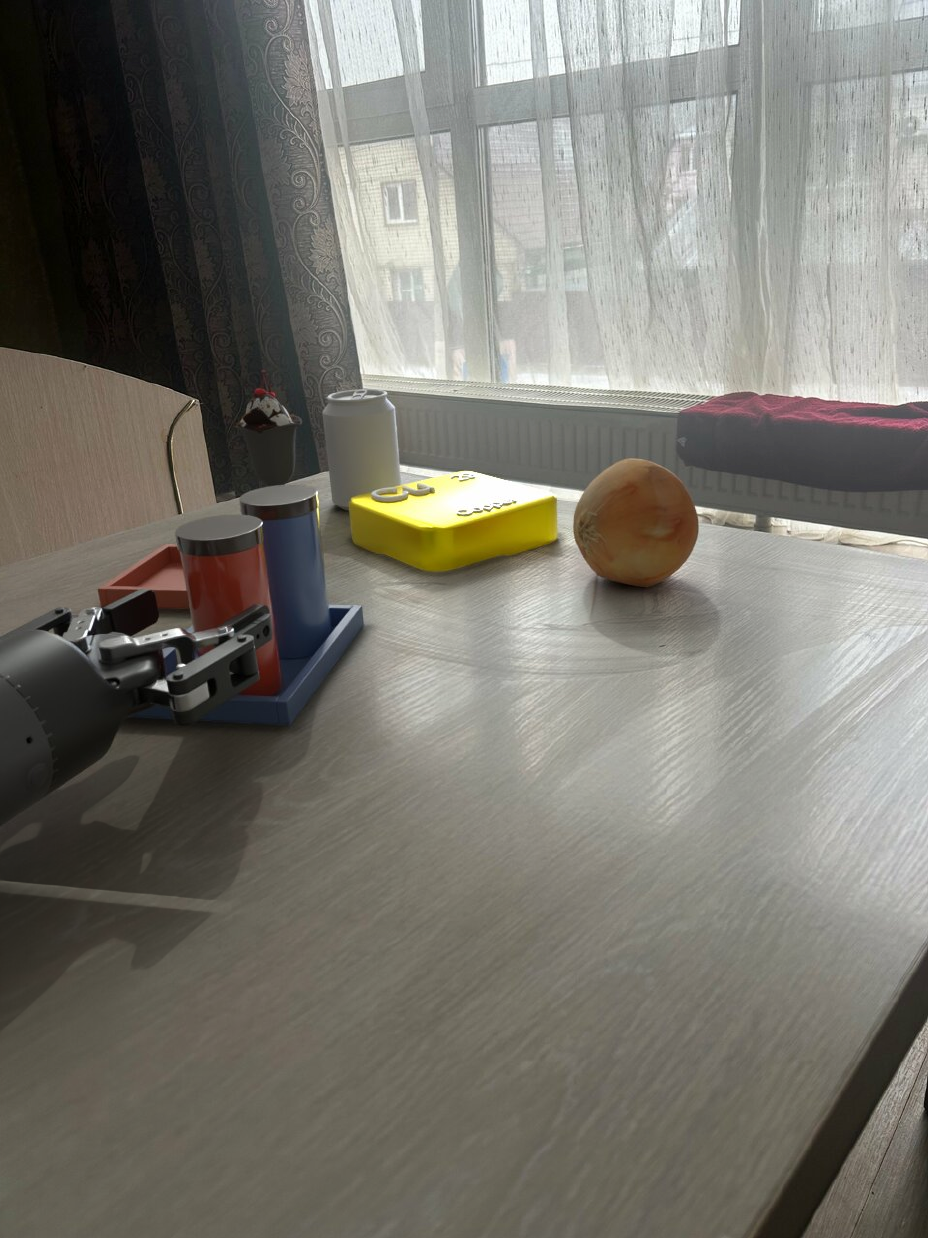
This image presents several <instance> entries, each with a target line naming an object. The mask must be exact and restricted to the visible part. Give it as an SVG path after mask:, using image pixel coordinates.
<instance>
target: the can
mask: <svg viewBox="0 0 928 1238" xmlns="http://www.w3.org/2000/svg"><path fill="white" fill-rule="evenodd" d="M388 395H389V393H388V392H387V391H386V390H383V389H368V388H367V389H364V388H363V389H349V390H342V391H337V392H334V393H330V394H329V395H328V396H326V399H327V401H328V403H327V404H326V406H325V407H324V409H323V410H322V412H321V413H322V422H323V430H324V440H325V448H326V458H327V466H328V475H329V485H330V494H331V501H332V503H333V504H335V505H336V506H337V507H338V508H340V509H342V510H344V511H348V512H349V504H348V503H349V501H350V499H351V498H352V497H355V496H358V495H362V494H367V493H371V492H373V491H375V490H378V489H382V488H392V487H396V486H401V485H402V477H401V465H400V453H399V441H398V428H397V427H398V426H397V416H396V415H397V414H396V406H395V405H394V404H393V403H392V402H391V401H390V400H389V399H388V398H387V396H388Z"/></svg>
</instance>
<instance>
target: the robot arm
mask: <svg viewBox="0 0 928 1238" xmlns="http://www.w3.org/2000/svg"><path fill="white" fill-rule="evenodd" d="M159 618H160V611H159V608H158V606H157V600H156V595H155V592H154V591H153V590H148V589H139V590H137V591H135V592H133V593H131V594H129V595H127V596H125V597H123V598H121V599H119V600H117V601H115V602H113V603H111V604H109V605H107V606H105V607H99V606H90V607H86V608H83V609H81V610H80V611H79V614H74V615H73V613H72V610H71V608H70V607H64V606H63V607H62V606H60V607H59V606H58V607H56V608H54V609H51V610H50V611H48V612H45V613H44V614H42V615H40V616H38V617H36V618H33V619H32V620H30V621H29V622H26V623H24V624H23V625H21V626H19V627H16V628H15V629H12V630H11V631H9V632H7V633H5V634H2V635H1V636H0V828H2V827H3V826H4V825H6V824H7V823H9V822H10V821H12V820H14V819H15V818H16V817H18V816H19V815H21V814H22V813H24V812H25V811H26V810H27V809H29V808H31V807H32V806H34V805H35V804H37V803H38V802H40V801H41V800H43V799H44V798H45V797H47V796H48V795H50V794H52V793H53V792H54V791H56V790H58V789H59V788H60V787H62V786H64V785H65V784H66V783H68V782H69V781H71V780H73V779H74V778H75V777H77V776H79V775H80V774H81V773H83V772H84V771H85V770H87V769H89V768H90V767H92V766H93V765H94V764H96V763H97V762H98V761H100V760H102V759H103V758H104V756H105V755H106V754H107V753H108V752H109V751H110V749H111V747H112V745H113V743H114V740H115V738H116V736H117V733H118V732H119V730H120V727H121V725H122V723H123V722H124V720H125V719H128V718H131V717H130V716H132V715H134V714H137V713H140V712H143V711H146V710H149V709H151V708H152V707H154V706H155V705H158V706H163V707H167V708H171V709H172V713H173V718H174V719H173V722H174V724H175V725H177V726H189V725H192V724H195V723H196V722H197V721H200V720H199V719H201V718H202V717H204V716H205V715H207V714H208V713H210V712H211V711H213V710H215V709H216V708H218V707H219V706H221V705H222V704H224V703H225V702H227V701H228V700H230V699H231V698H233V697H234V696H236V695H238V694H239V693H241V692H242V691H244V690H245V689H247V688H248V687H250V686H251V685H253V684H254V683H256V682H257V681H259V679H260V677H259V671H258V664H257V657H256V650H257V649H259V648H260V647H261V646H263V645H265V644H266V643H268V642H269V641H271V640H272V638H273V629H272V622H271V615H270V611H269V608H268V606H266V605H259V604H254V605H252V606H250V607H249V608H247V609H245V610H244V611H242V612H241V613H239V614H237V615H236V616H234V617H232V618H231V619H229V620H227V621H226V622H224V623H222V624H221V625H219V627H216V628H212V629H208V630H204V631H199V632H195V633H188V632H187V631H186V630H187V629H185V628H183V627H174V628H170V629H165V630H161V631H157V632H154V633H148V634H144V635H140V636H135V635H137V634H138V633H140V632H142V631H144V630H146V629H148V628H149V627H151V626H153V625H155V624H157V622H158V621H159ZM51 630H52V631H53V632H51ZM211 645H213V647H214V649H212V650H211V651H209V652H207V653H205V654H204V655H202V656H200V657H199V658H197V659H195V657H194V652H195V651H196V650H197V649H199V648H202V647H207V646H211ZM169 647H174V648H175V650H176V656H177V661H178V665H177V666H176V671H174V672H172V673H171V674H169V675H168V676H167V677H166V679H165V676H166V666H165V661H164V656H163V650H164V649H165V648H169ZM231 674H232V675H231ZM230 675H231V676H230Z"/></svg>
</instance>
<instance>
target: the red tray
mask: <svg viewBox="0 0 928 1238" xmlns="http://www.w3.org/2000/svg"><path fill="white" fill-rule="evenodd" d="M139 589H148V590H153V591H154V592H155V595H156V600H157V606H158V609H174V610H175V609H178V610H179V609H181V610H190V607H189V602H188V596H187V590H186V585H185V579H184V573H183V568H182V562H181V556H180V551H179V550H178V548H177V543H164V544H162V545H161V546H160V547H158V548H157V549H155V550H154V551H151V552H150V554H147V555H146V556H144V557H143V558H142V559H140V560H139V561H136V563H134V564H133V565H131V566H129V567H128V568H127V569H125V570H123V571H122V572H121V573H119V574H118V575H116V576H114V577H113V578H112V579H110V580H108V581H107V582H106V583H104V584H103V585H101V586H100V587H98V588H97V593H98V597H99V603H100V606H101V607H100V608H103V607H105V606H107V605H109V604H111V603H113V602H115V601H117V600H119V599H121V598H123V597H125V596H127V595H129V594H131V593H133V592H135V591H137V590H139Z"/></svg>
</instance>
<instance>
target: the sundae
mask: <svg viewBox="0 0 928 1238" xmlns="http://www.w3.org/2000/svg"><path fill="white" fill-rule="evenodd" d="M260 373H261V375H262V382H261V385H260V386H259V387H258V388H256V389H254V392H253V393H254V395H253V397H252V398H251V399H250V400H249V401H248V402H247V406H246V408H245V413H243V415H242V416H241V418H240V419H241V420H240V421H238V422H237V423H236V425H235V426H234V428H235V429H237V430H239V431H240V432H241V434H242V437H243V439H244V441H245V444H246V448H247V452H248V455H249V459H250V463H251V466H252V469H253V472H254V474H255V477H256V478H258V479H259V481H261V482H262V484H265V485H267V487H269V486H277V485H287V483H288V482H289V481H290V480H291V478H292V477H293V475H294V474H295V466H296V435H297V428H299V427H300V426H302V425H303V420H302V418H301V417H300V416H297V415H295V414H294V413H292V414H289V412H288V411H287V409H286V408H285V407H284V405H282V404H281V403H280V402H279V401H278V400H277V399H276V394H275V392H272V389H271V385H270V383H269V380H268V378H267V377H266V375H265V374H266V373H267V372H266V370H265V369H261V370H260ZM265 381H266V385H267V388H268V391H266V390H265V389H264V388H263V386H264V383H265Z"/></svg>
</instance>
